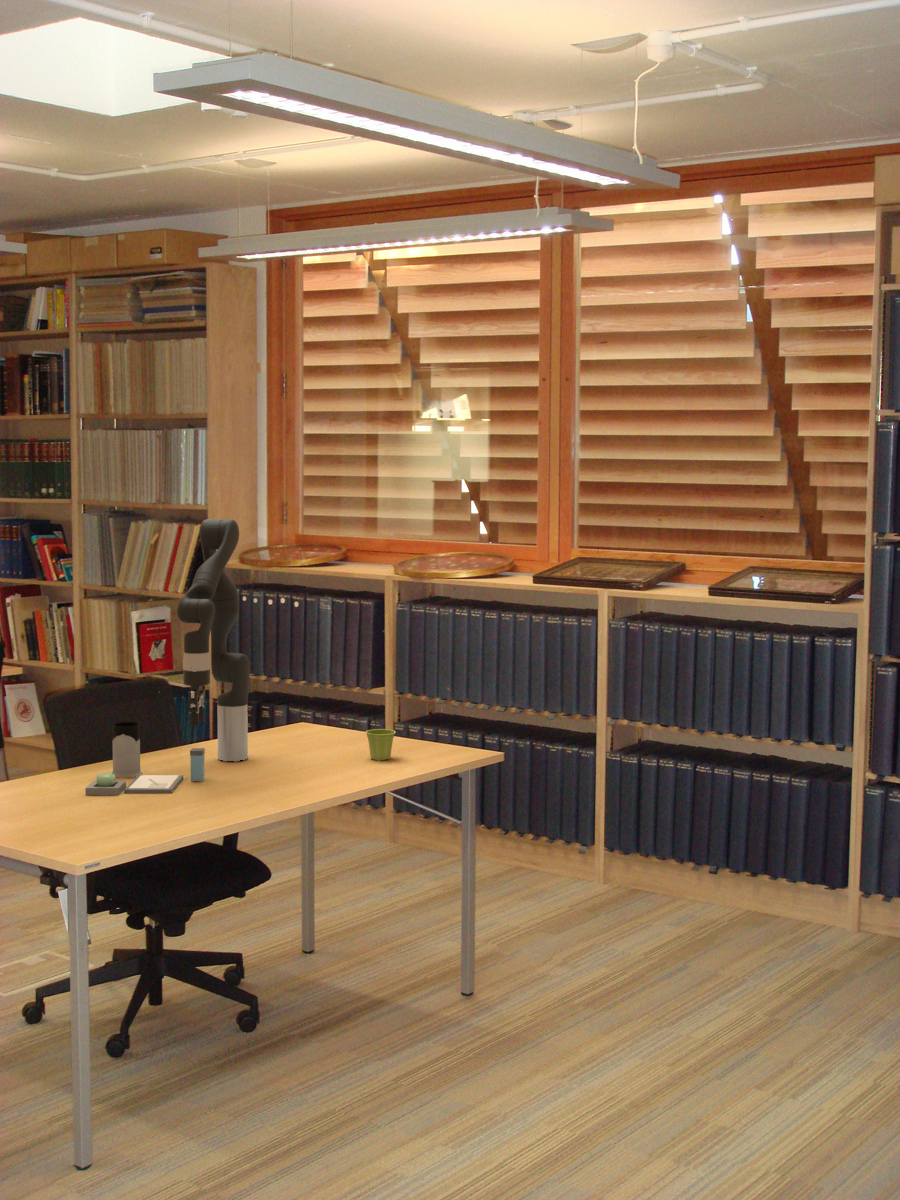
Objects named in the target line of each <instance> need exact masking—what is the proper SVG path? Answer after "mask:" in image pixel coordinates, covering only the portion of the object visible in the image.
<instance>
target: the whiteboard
mask: <svg viewBox="0 0 900 1200" xmlns="http://www.w3.org/2000/svg"><path fill="white" fill-rule="evenodd" d="M182 779H184V775H183V774H142V775H138V776H137V777H134V779H133V780H132V781H130V783H129V784H128V785H126V788H125V789H124V790H123V792H124V794H173V792H174V791H175V790H176V788H177V787H178V786H179V785H178V784H180V783H181V782H182V781H183V780H182ZM181 780H182V781H181ZM177 785H178V786H177ZM176 786H177V787H176ZM174 789H175V790H174ZM173 790H174V791H173ZM172 791H173V792H172Z"/></svg>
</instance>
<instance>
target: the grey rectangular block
mask: <svg viewBox="0 0 900 1200" xmlns="http://www.w3.org/2000/svg"><path fill="white" fill-rule="evenodd" d="M205 749H206V748H203V747H198V748H197V747H192V748H191V749H190V750H189V756H190V782H191V781H203V782H204V781H205V779H204V778H205V754H206V750H205Z"/></svg>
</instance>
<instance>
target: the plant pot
mask: <svg viewBox="0 0 900 1200" xmlns="http://www.w3.org/2000/svg"><path fill="white" fill-rule="evenodd" d="M365 734H366V737H367V739H368V746H369V752H370V753H369V754H370V755H369V756H370V760H374V761H381V760H382V761H385V760H387V759H389V760H391V755H392V749H393V741H394V738H395V734H396V731H395V730H394V729H393V730H392V729H388V728H375V729H367V730H366V731H365Z"/></svg>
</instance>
